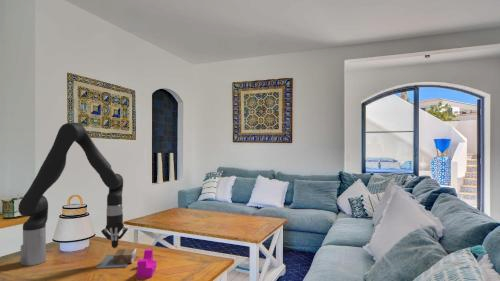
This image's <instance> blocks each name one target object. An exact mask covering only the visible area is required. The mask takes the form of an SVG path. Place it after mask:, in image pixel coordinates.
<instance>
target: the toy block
mask: <svg viewBox="0 0 500 281" xmlns="http://www.w3.org/2000/svg"><path fill="white" fill-rule="evenodd" d="M153 251H154V249H153V248H149V249H148V248H146V249H144V251H143V258H142V259H141V258H140V259H138V260H137V265H136V266H137V267H136V268H137V271H136V272H137V274H136V276H137V279H142V278H143V279H146V278H149V279H150V278H153V276H154V274H155V271H156V269H157V260H154V252H153Z"/></svg>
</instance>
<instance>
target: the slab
mask: <svg viewBox="0 0 500 281" xmlns="http://www.w3.org/2000/svg"><path fill="white" fill-rule="evenodd" d="M112 255H113V264H115V263H129V264H130V263H131V264H132V263H134V260H135V259H136V257H137V248H126V249H125V248H124V249H122V248H121V249H120V248H119V249H118V250H116V252H115V253H114V254H112Z"/></svg>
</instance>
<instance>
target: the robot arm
mask: <svg viewBox="0 0 500 281" xmlns="http://www.w3.org/2000/svg"><path fill="white" fill-rule="evenodd" d="M73 143H76V144H78V145H79V146H80V148H81V149H82V151H83V152H84V155H85V156H86V159H87V161H88V163H89V165H90V166H91V167H92V168H93V169H94V170H95V172H96V173H97V174H98V176H99V177H100V179H101V181H102V182H103V183H104V185H105V186H106V187H107V188H108V194H107V196H106V224H105V228H103V229H101V233H102V235H103V236H104V237H105V238H106V239H107V240H108V241H110V242H111V248H113V249H116V248H117V247H118V246H119V240H121V239H122V238H123V237H124V235H125V234H126V233H127V231H129V228H128V227H125V224H124V210H123V208H124V207H123V189H124V179H123V176H122V175H121V174H120V173H116V172H115V171H114V170H113V169H112V165H111V164H110V162H109V161H108V160H107V159H106V157H105V156H104V155H103V154H102V153H101V151H100V150H99V149H98V147H97V146H96V144H95V143H94V141H93V140H92V138H91V136H90V135H89V133H88V131H87V130H86V128H85V126H83V125H82V123H80V122H67V123H66V122H65V123H64V124H62V125H61V126H60V128H59V129H58V132H57V134H56V137H55V139H54V142H53V144H52V146H51V148H50V150H49V151H48V153H47V155H46V157H45V159H44V161H43V163H42V164H41V166H40V168H39V170H38V172H37V174H36V176H35V178H34V179H33V181H32V183H31V185H30V186H29V188H28V189H27V191H26V192H25V194H24V195H23V197H22V198H21V200H20V202H19V203H18V208H17V209H18V212H19V215H21V216H23V217H28V219H27V220H26V221H25V222H24V223H23V224H22V244H21V245H20V265H21V266H25V267H30V266H31V267H32V266H35V265H39V264H42V263H44V262H46V257H47V254H46V252H47V251H46V246H47V245H46V242H47V240H46V233H47V232H46V231H47V230H46V226H47V225H46V224H47V222H48V219H49V218H48V217H49V216H48V215H49V202H48V199H47V197H45V195H44V194H45V193H46V191H48V190H49V188H51V187H52V186H53V185H54V184H55V183H56V182H57V181H58V180H59V178H60V177H61V175H62V173H63V172H64V170H65V168H66V165H67V156H68V153H69V150H70V148H71V147H72V145H73Z"/></svg>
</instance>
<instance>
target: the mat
mask: <svg viewBox="0 0 500 281" xmlns="http://www.w3.org/2000/svg"><path fill="white" fill-rule="evenodd" d="M113 255H114V254H107V255H106V256H104V258H103V259H102V260H101V261H100V262H99V263H98V264H97V265H96V266H95V268H94V269H95V270H97V269H98V270H99V269H119V268H120V269H122V268H123V269H124V268H127V267H128V265H129V264H130V263H115V264H113Z"/></svg>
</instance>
